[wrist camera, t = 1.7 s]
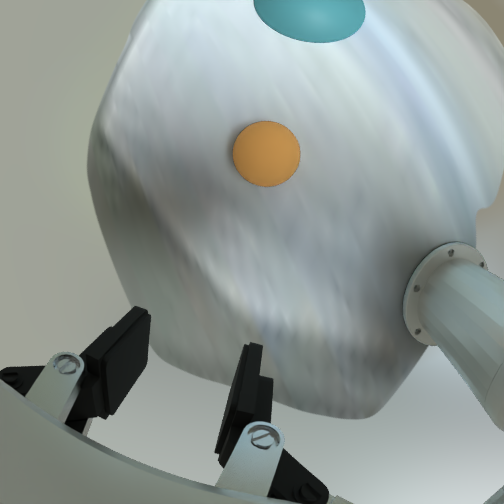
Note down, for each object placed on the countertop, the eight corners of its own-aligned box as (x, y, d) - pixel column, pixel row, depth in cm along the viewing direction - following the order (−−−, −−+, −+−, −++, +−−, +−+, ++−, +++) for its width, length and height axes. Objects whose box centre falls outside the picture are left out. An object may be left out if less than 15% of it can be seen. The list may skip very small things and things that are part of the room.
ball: (304, 136, 24) (310, 125, 19) (289, 192, 26) (291, 196, 21) (246, 121, 25) (237, 107, 19) (231, 177, 26) (219, 177, 21)
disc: (369, -15, 18) (369, -16, 18) (357, 57, 22) (357, 56, 21) (268, -38, 19) (268, -39, 19) (241, 29, 22) (240, 28, 22)
